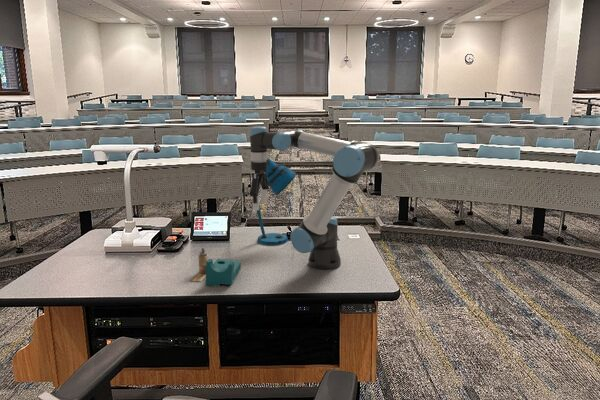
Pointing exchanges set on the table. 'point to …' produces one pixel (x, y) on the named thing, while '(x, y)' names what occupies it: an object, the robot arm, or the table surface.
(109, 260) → the table surface
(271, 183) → the desk lamp
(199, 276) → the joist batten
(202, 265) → the awl
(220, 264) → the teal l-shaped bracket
